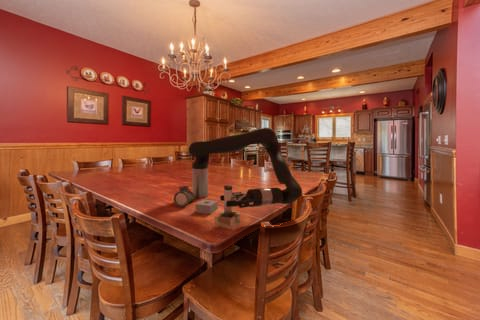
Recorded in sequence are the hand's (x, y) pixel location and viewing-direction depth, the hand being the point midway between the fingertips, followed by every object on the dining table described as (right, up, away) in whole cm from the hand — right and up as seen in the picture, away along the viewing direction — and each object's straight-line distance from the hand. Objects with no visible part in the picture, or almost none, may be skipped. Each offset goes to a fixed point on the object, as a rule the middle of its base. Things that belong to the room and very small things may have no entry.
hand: (223, 201), depth 86 cm
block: (-10, -8, +18) cm, 22 cm away
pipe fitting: (-23, -7, +29) cm, 38 cm away
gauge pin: (+2, -10, +2) cm, 10 cm away
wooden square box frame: (+2, -10, +2) cm, 10 cm away
